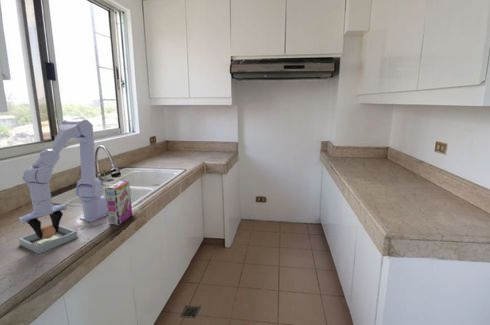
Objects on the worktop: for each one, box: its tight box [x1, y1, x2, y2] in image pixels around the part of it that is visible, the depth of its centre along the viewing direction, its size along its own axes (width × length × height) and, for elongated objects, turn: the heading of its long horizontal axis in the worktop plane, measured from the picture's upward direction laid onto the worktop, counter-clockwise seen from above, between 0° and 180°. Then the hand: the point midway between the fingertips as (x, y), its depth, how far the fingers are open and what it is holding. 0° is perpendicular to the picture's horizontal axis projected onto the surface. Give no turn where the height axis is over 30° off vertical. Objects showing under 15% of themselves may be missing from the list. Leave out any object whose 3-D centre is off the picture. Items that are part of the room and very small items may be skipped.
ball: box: [41, 224, 57, 239], centre depth 100 cm, size 5×5×5 cm
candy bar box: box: [104, 180, 133, 226], centre depth 117 cm, size 11×5×16 cm, turn 174°
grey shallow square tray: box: [18, 224, 78, 255], centre depth 100 cm, size 13×13×2 cm
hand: (48, 233), depth 100 cm, fingers closed on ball, 5 cm apart
